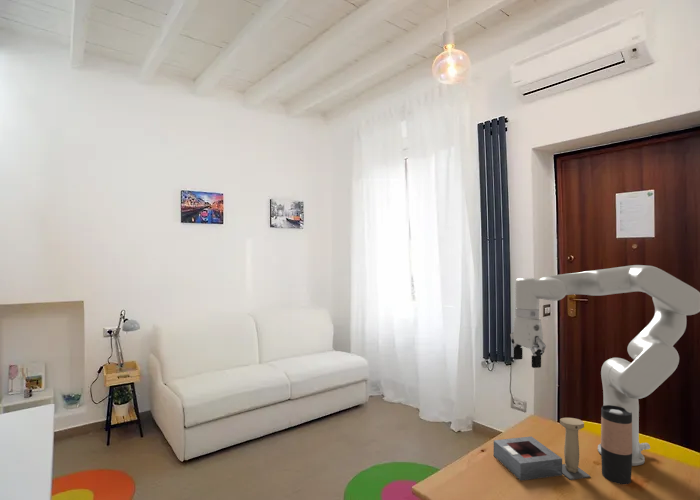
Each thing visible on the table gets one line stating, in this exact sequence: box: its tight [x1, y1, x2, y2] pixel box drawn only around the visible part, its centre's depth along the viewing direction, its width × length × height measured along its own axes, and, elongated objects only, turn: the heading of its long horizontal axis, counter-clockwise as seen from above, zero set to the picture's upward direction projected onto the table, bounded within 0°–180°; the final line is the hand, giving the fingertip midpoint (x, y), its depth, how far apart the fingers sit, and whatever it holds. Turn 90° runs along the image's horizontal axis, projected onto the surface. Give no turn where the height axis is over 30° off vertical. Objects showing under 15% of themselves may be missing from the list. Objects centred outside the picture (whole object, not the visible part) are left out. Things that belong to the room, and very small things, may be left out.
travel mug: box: [600, 405, 633, 485], centre depth 114 cm, size 8×8×20 cm
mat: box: [562, 463, 591, 481], centre depth 117 cm, size 7×7×1 cm
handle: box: [559, 417, 585, 473], centre depth 117 cm, size 5×6×15 cm
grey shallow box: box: [493, 435, 563, 482], centre depth 121 cm, size 14×14×5 cm
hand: (526, 363), depth 133 cm, fingers open, 9 cm apart
